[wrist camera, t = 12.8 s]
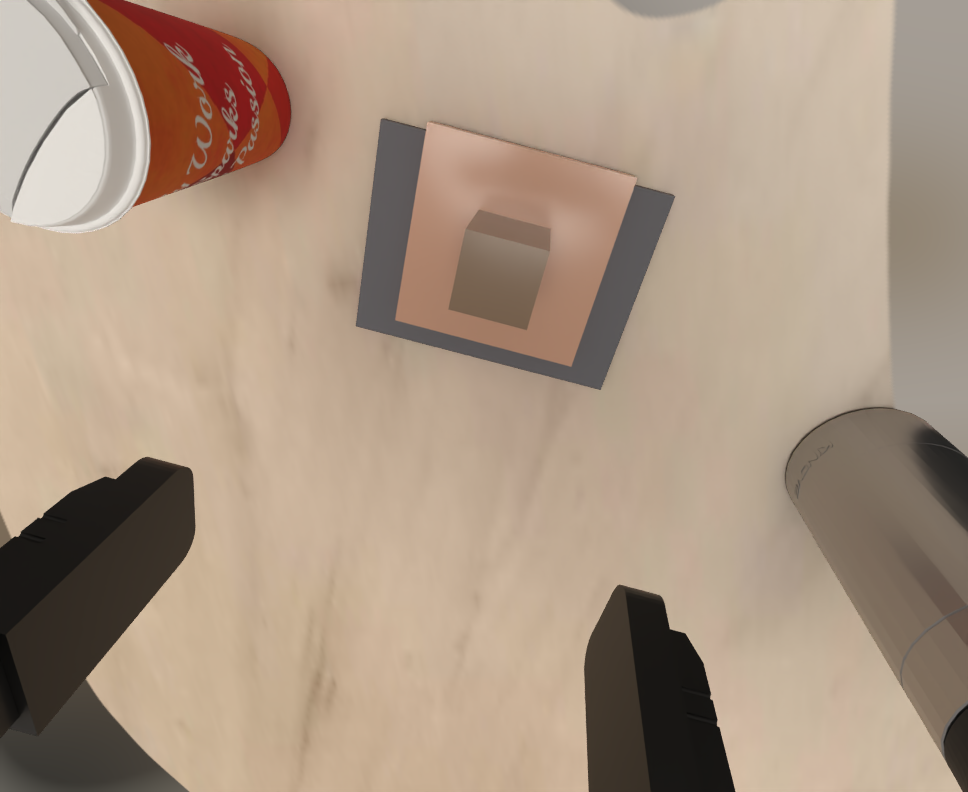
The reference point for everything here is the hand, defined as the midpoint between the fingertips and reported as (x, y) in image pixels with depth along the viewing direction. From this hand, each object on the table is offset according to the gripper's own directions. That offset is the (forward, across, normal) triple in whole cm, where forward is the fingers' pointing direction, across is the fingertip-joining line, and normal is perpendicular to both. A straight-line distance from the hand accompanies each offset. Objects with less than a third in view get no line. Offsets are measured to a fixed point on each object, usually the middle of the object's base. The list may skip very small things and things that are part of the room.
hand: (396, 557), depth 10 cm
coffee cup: (+25, +16, -4) cm, 30 cm away
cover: (+24, 0, 0) cm, 24 cm away
